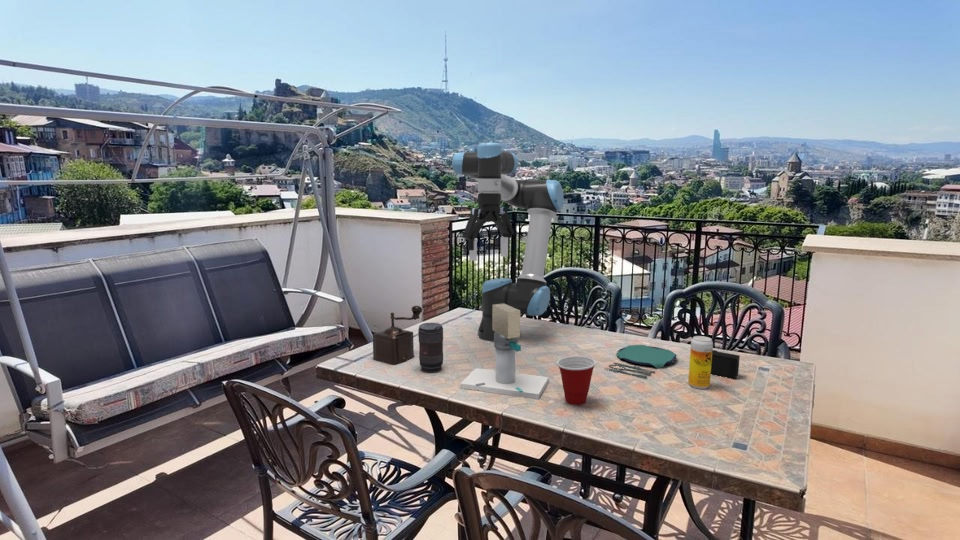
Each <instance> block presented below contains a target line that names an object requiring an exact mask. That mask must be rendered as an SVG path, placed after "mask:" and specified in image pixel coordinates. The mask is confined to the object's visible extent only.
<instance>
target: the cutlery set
mask: <svg viewBox="0 0 960 540" xmlns="http://www.w3.org/2000/svg"><path fill="white" fill-rule="evenodd" d="M616 357H617V358H618V359H619V360H621V359H622V360H624V361H626V362H628V363H633V364H637V365H640V366H641V365H642V366H653V367H655V369H661V368H663V367H664V366H665V365H668V364H671V363H674V362H675V361H676V359H677V357H678V355H677V353H675V352H674V351H672V350H670V349H665V348H661V347H657V346H651V345H645V344H632V345H626V346H625V347H622V348H620V349H619V350H617V351H616ZM613 363H614V364H609V365H608V366H609V367H610V368H608V367H605V368H604V370H605V369H606V368H607V369H609V372H612V371H613V373H616V372H617V373H616V374H618V372H620V373H619V374H624V375H626V376H627V375H628V376H631V375H632V376H631V377H635V376H636V377H635V378H642V379H644V380H648V376H652V373H653V374H656V370H649V369H646V368H642V367H640V366H636V365H634V366H633V365H628V364H624V363H621V362H620V363H619V362H613ZM617 364H618V365H617ZM611 366H612V367H611ZM616 366H619V367H617V368H616ZM621 367H622V368H621ZM613 368H614V369H613ZM623 368H624V369H623ZM629 368H630V369H629ZM617 369H619V370H617ZM628 371H630V372H628ZM631 372H632V373H631ZM633 372H637V374H636V373H633ZM638 373H640V374H638Z"/></svg>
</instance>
